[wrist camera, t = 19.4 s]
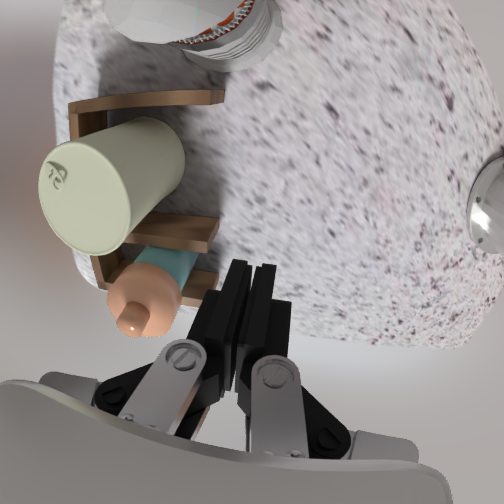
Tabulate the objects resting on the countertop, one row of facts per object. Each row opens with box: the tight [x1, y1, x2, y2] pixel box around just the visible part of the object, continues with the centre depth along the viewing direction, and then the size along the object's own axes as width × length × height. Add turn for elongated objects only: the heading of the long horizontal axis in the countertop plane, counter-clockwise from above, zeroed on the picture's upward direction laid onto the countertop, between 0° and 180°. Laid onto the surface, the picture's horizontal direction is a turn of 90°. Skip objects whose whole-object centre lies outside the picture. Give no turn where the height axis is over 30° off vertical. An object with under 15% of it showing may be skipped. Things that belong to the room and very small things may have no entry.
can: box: [39, 117, 185, 256], centre depth 22 cm, size 9×9×12 cm
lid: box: [107, 262, 182, 338], centre depth 24 cm, size 6×6×5 cm
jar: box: [133, 245, 199, 291], centre depth 29 cm, size 6×6×8 cm
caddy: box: [68, 90, 224, 308], centre depth 27 cm, size 14×22×5 cm, turn 176°
